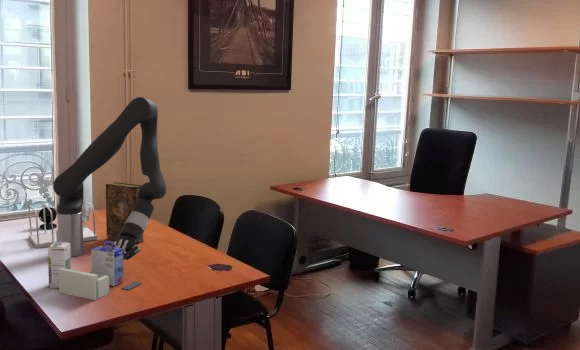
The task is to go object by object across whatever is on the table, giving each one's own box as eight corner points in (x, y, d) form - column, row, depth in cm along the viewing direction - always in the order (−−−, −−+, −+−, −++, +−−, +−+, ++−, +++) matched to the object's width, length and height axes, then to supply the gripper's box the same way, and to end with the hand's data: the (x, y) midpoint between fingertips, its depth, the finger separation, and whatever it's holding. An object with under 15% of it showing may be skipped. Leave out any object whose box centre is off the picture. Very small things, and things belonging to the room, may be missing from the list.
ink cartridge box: (124, 281, 194) (124, 241, 192) (115, 286, 189) (114, 246, 187) (101, 277, 197) (100, 238, 195) (91, 282, 192) (89, 242, 190)
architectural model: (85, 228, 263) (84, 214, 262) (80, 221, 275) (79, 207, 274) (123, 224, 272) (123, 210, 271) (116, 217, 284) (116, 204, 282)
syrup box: (54, 282, 192) (52, 241, 189) (72, 282, 192) (70, 242, 190) (48, 288, 186) (46, 246, 184) (66, 288, 187) (65, 246, 184)
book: (145, 241, 243) (144, 185, 239) (137, 244, 238) (136, 187, 234) (115, 236, 249) (113, 181, 245) (106, 239, 244) (105, 183, 240)
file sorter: (87, 231, 257) (86, 198, 254) (98, 240, 243) (97, 205, 240) (28, 238, 243) (26, 203, 240) (36, 248, 229) (34, 212, 226)
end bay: (59, 292, 183) (58, 269, 182) (74, 285, 189) (73, 263, 188) (95, 300, 177) (94, 276, 176) (109, 293, 183) (108, 270, 182)
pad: (121, 288, 188) (121, 288, 188) (134, 282, 194) (134, 281, 194) (128, 290, 186) (128, 289, 186) (141, 283, 193) (141, 282, 193)
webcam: (40, 230, 255) (39, 209, 253) (38, 226, 261) (37, 206, 260) (58, 228, 259) (57, 207, 257) (56, 225, 265) (55, 204, 264)
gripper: (115, 219, 204) (93, 260, 195) (145, 223, 199) (123, 266, 190) (125, 229, 210) (104, 270, 201) (154, 234, 205) (134, 276, 196)
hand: (113, 268), depth 196 cm, fingers closed
